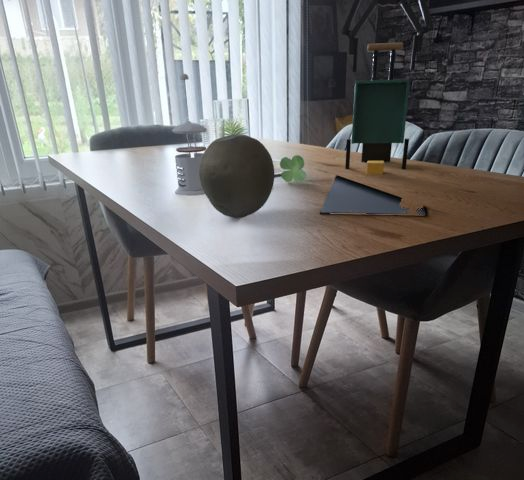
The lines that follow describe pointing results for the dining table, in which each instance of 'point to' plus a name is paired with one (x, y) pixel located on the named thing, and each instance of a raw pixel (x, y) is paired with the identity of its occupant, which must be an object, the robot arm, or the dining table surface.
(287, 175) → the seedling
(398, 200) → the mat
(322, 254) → the dining table surface
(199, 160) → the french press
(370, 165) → the block
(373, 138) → the green shallow box
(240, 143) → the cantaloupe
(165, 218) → the dining table surface
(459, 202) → the dining table surface
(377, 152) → the stand
